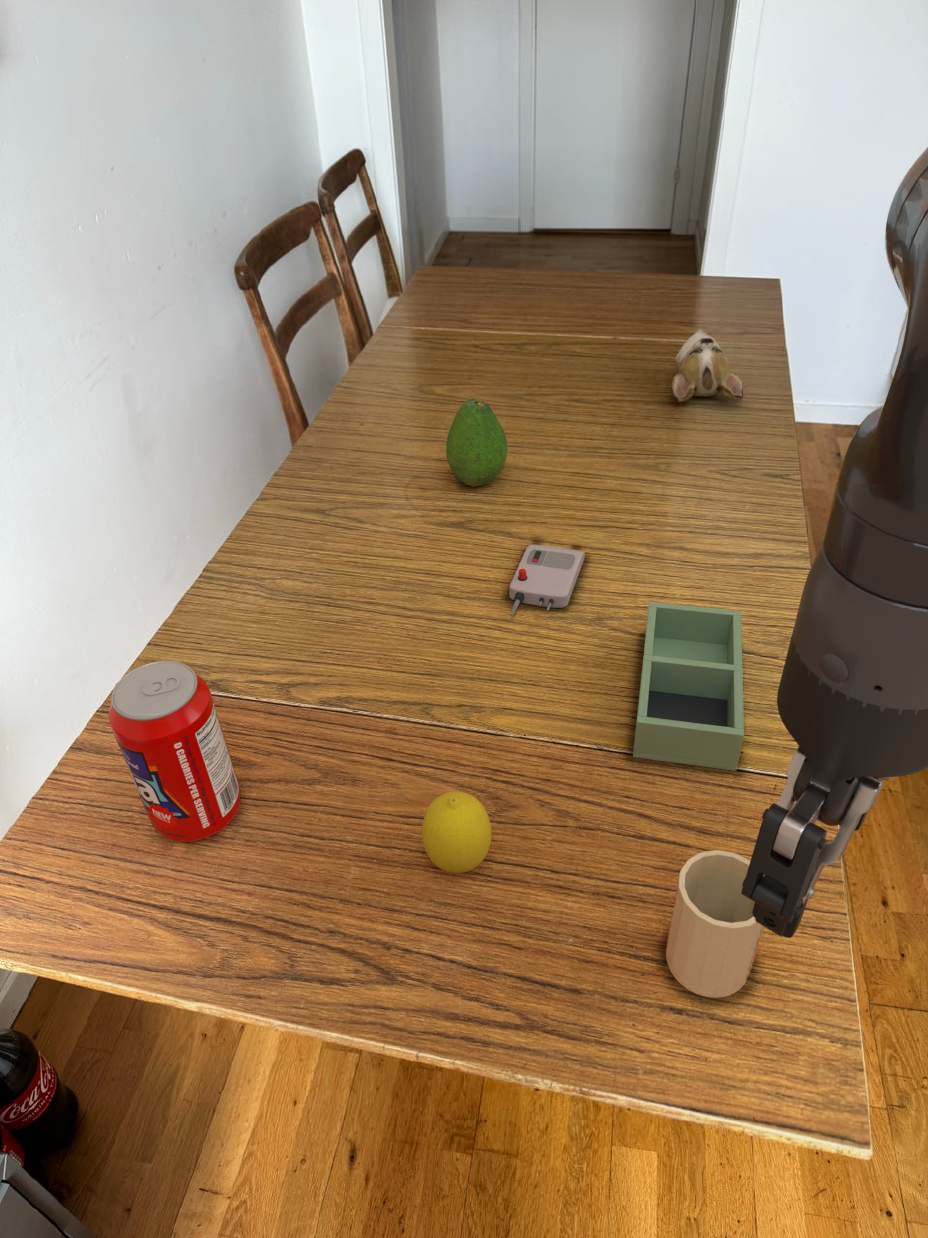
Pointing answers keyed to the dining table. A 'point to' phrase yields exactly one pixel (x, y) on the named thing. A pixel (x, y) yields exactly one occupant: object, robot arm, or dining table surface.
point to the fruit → (476, 444)
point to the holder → (691, 687)
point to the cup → (712, 925)
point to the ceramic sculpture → (704, 371)
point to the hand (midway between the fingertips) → (809, 869)
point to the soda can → (175, 750)
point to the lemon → (456, 832)
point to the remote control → (545, 576)
